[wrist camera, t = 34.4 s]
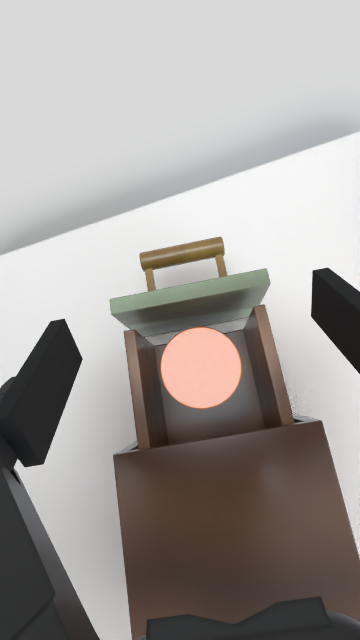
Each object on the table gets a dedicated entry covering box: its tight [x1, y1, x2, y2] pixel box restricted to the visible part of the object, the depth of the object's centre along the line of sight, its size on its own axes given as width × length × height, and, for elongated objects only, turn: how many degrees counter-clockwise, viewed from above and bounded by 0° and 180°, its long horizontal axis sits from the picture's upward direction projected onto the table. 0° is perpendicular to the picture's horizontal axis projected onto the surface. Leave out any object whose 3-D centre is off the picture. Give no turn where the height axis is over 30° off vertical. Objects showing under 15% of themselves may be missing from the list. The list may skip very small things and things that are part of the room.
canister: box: [160, 327, 242, 409], centre depth 23 cm, size 5×5×10 cm
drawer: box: [110, 237, 295, 449], centre depth 25 cm, size 18×11×9 cm, turn 10°
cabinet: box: [113, 414, 360, 640], centre depth 21 cm, size 15×13×11 cm
